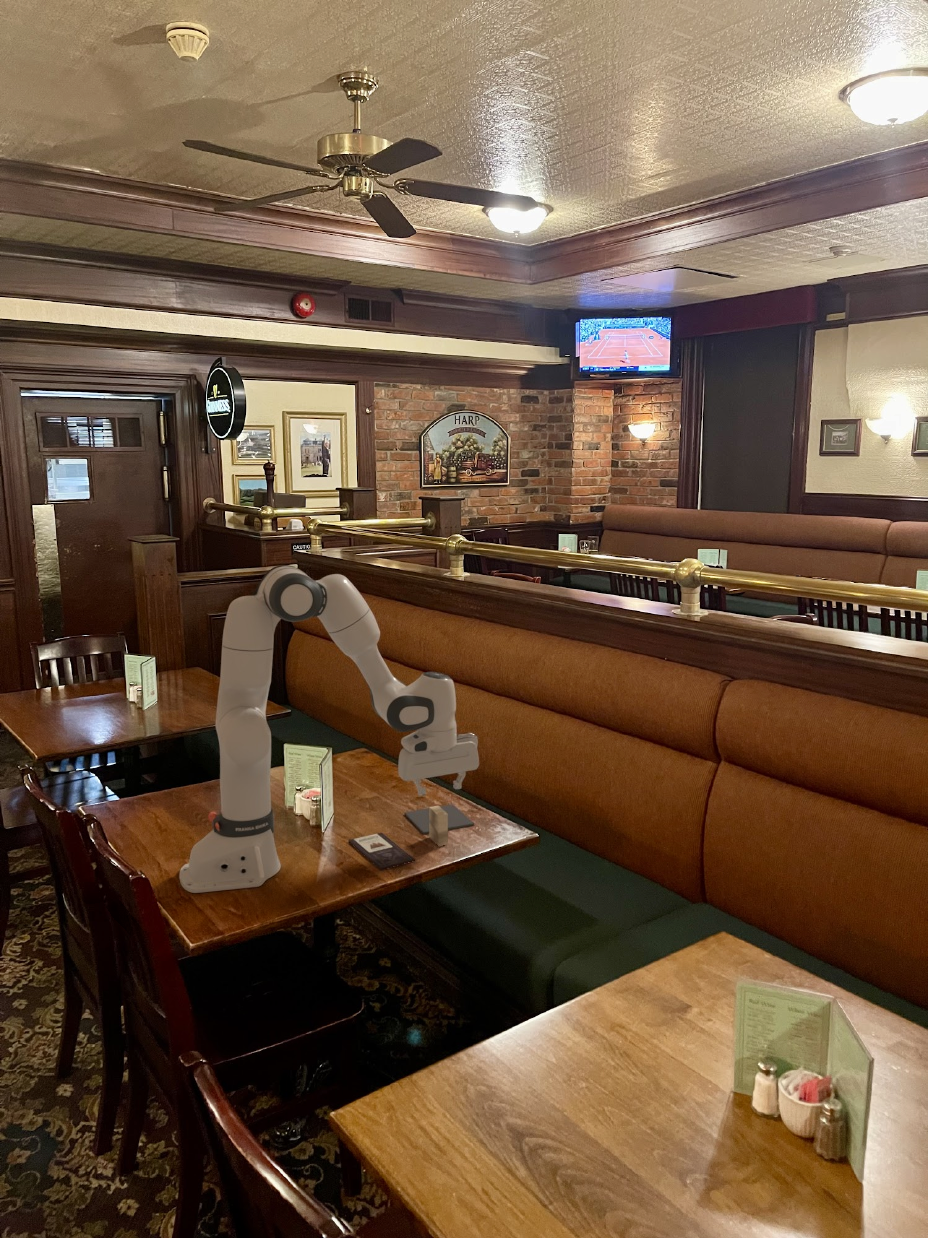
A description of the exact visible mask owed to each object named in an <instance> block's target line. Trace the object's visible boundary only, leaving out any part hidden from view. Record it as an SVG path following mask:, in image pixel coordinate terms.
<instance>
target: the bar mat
mask: <svg viewBox="0 0 928 1238" xmlns="http://www.w3.org/2000/svg"><path fill="white" fill-rule="evenodd" d="M439 806H440V807H441V808H442V809H443V810H444V811H445V812H446V813H447V814H448V831H450V830H457V829H462V828H468V827H473V826H475V822H474V821H472V820H471V819H470V818H469V816H467V815H465V814H464V812H462V811H461V810H460V809H459V808H458V807H457V806H455V804H446V805H439ZM404 815H405V817H406V818H407V819H408V820H409V821H410V822H411V823H412V825H414V826H415V828H416V829H418V830H419V831H420V832H421V833H422V834H423V835H428V834H429V807H428V808H422V809H418V810H417V809H415V810H410V811H405V812H404Z"/></svg>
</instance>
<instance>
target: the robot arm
mask: <svg viewBox="0 0 928 1238" xmlns="http://www.w3.org/2000/svg"><path fill="white" fill-rule="evenodd" d="M354 585H355V584H353V583H352V582H351V581H350V580H349V578H347V577H346V576H345V575H342V574H340V573H334V574H333V573H332V574H329V575H326V576H324V577H321V578H320V579H318V580H314V579H313V578H311V577H310V576H308V575H307V573H306V572H304V571H302V570H301V569H299V568H297V567H295V566H293V565H290V564H289V565H288V564H281V565H276V566H273V567H272V568H271V569H269V570H268V571H267V572H265V574H264V576H263V577H262V579H261V580H260V581H259V583H258V585H257V586H256V588H255V589H254V590H253V593H252V595H245V596H244V595H243V596H240V597H237V598H236V599H234V600H232V601H231V602H230V604H229V606H228V609H227V612H226V617H225V620H224V626H223V632H222V633H223V634H222V640H221V641H222V643H221V644H222V645H221V657H220V658H221V660H220V663H221V664H220V677H219V678H220V679H219V687H218V693H217V702H216V714H215V730H216V734H217V739H218V743H219V756H220V757H219V765H220V766H219V771H220V772H219V786H220V790H219V792H220V805H221V806H220V807H221V809H220V810H221V811H220V812H219V813H216V811H211V812H209V814H208V816H207V817H208V820H209V822H210V823H212V830H211V831H210V832H209V833H207V834H206V835H205V836H204V837H203V838H202V839H200V840H199V841H198V842H196V843H195V844H194V845H193V847H192V849H191V850H190V855H189V860H188V863H185V864H183V866H182V867H181V868H180V870H179V875H178V879H179V882H180V885H181V887H182V888H183V889H184V890H185V891H186V892H189V893H193V894H198V893H208V892H218V891H228V890H237V889H249V888H257V887H260V886H262V885H263V884H264V883H265V881H267V880H268V879H270V878H272V877H273V876H275V875H276V874H278V872H279V871H280V869H281V865H282V864H281V861H280V858H279V856H278V852H277V848H276V844H275V838H274V837H275V836H274V833H275V814H274V809H273V807H272V800H271V799H272V798H271V795H272V794H271V767H272V765H271V764H272V763H271V761H272V732H271V729H270V727H269V724H268V721H267V716H266V713H267V712H266V711H267V702H268V697H269V692H270V686H271V683H272V675H273V674H272V673H273V672H272V671H273V670H272V669H273V659H274V657H273V655H274V640H275V639H274V635H275V631H276V627H277V626H278V623H279V622H280V621H281V620H283V621H286V622H295V623H296V622H302V621H305V620H308V619H312V618H315V617H316V618H318V619H319V621H320V622H321V623H322V625H323V627H324V628H325V631H326V632H327V633H328V636H330V638H331V640H332V641H333V642H334V643H335V645H336V646H337V647H338V648H339V650H340V651H341V652H342V653H343V654H344V655H345V656H347V657H349V658H350V659H351V660H352V661H353V662H354V663H355V665H356V667H357V669H358V670H359V672H360V674H361V675H362V677H363V679H364V681H365V682H366V684H367V686H368V688H369V692H370V693H369V694H370V702H371V706H372V710H373V711H374V712H375V714H376V715H377V716H378V717H380V718H381V719H383V720H384V721H385V723H387V725H389V726H390V727H391V728H392V729H394V730H395V731H397V732H400V733H409V732H411V733H410V734H408V735H405V736H404V737H402V738H401V740H400V743H401V745H402V747H403V748H402V749H400V752H399V756H398V762H397V763H398V766H397V769H398V770H397V771H398V772H397V773H398V776H399V777H400V778H401V779H402V780H403V781H405V782H411V781H412V782H413V783H414V784H415V786H416V788H417V794H418V796H420V797H421V796H426V795H427V792H426V791H427V789H426V787H424V786H422V785H421V783H422V780H423V779H428V778H434V777H440V776H441V777H442V776H446V775H447V776H448V775H453V774H457V777H456V779H455V780H453V781H452V783H453V785H452V787H453V789H455V790H460V789H462V783H463V781H464V779H465V777H466V773H467V772H468V771H469V772H470V771H476V770H477V769H478V767H479V766H480V759H479V752H478V745H479V741H478V740H479V738H478V736H477V735H476V734H474V733H473V732H466V733H464V734H463V733H460V734H459V733H458V732H457V721H456V717H455V715H456V712H457V711H456V710H457V698H456V688H455V683H454V680H453V679H452V678H451V677H450V676H449V675H447V674H445V673H442V672H438V671H437V672H436V671H427V672H423V673H421V675H420V676H419V677H418V678H417V679H415V681H413V682H411V683H410V684H409V685H406V684H405V683H404V682H403V681H401V680H400V679H398V678H397V677H395V676H394V675H393V674H392V672H391V671H390V669H389V667H388V665H387V663H386V662H385V660H384V659H383V657H382V655H381V653H380V651H379V648H378V642H379V641H380V637H381V630H380V628H379V625H378V622H377V620H376V617H375V615H374V613H373V612H372V610H371V608H370V607H369V605H368V603H367V602H366V600H365V598H364V597H363V595H362V594H361V592H360V591H359V590H358V589H357V588H356V586H354ZM412 731H413V732H412ZM457 733H458V734H457Z"/></svg>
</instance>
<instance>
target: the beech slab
mask: <svg viewBox="0 0 928 1238" xmlns="http://www.w3.org/2000/svg"><path fill="white" fill-rule="evenodd" d="M440 806H441V805H434V806H433V805H432V806H429V807H428V808H429V839H431V841H433V843H434V842H435V845H436V844H437V845H438V846H437V845H436V846H437V847H444V846H443V845H445V846H448V845H449V834H448V833H449V830H448V814H447V813H446V812H445V811H444V810H443V809H442V808H441V807H440Z"/></svg>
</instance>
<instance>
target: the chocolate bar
mask: <svg viewBox="0 0 928 1238" xmlns="http://www.w3.org/2000/svg"><path fill="white" fill-rule="evenodd" d="M349 842H350V843H351V844H352V845H354V846H355V847H356V848H357V849H358V850H359V851H360V852H361V853H362V854H361V853H360V852H359V851H358V850H357V849H356V848H355V847H354V846H353V847H354V848H355V849H356V850H357V851H358V852H359V853H360V854H361V855H362V856H364V855H365V856H364V857H365V858H366V857H367V858H368V859H369V860H370V861H371V864H373V863H374V864H373V865H374V866H375V865H376V866H377V867H378V868H379V869H378V868H377V867H376V866H375V867H376V868H377V869H378V870H380V871H384V869H385V870H388V869H387V868H389V869H392V868H394V867H393V866H396V867H398V866H397V865H400V866H403V865H402V864H404V863H408V862H412V861H415V862H416V859H415V858H414V857H413V856H412V855H410V854H409V853H408V852H406V851H405V850H404V849H403V848H402V847H400V845H398V844H396V843H395V842H394V841H393V840H392V839H390V838H389V837H388V836H387V835H386V834H384V833H383V832H378V833H375V834H374V833H373V834H370V835H365V836H361V837H357V838H351V839H349V840H348V843H349ZM350 843H349V844H350ZM351 844H350V845H351ZM352 845H351V846H352ZM367 858H366V859H367ZM368 859H367V860H368ZM369 860H368V861H369ZM370 861H369V862H370ZM412 863H413V862H412ZM408 864H409V863H408ZM404 865H405V864H404ZM391 867H392V868H391Z"/></svg>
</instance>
